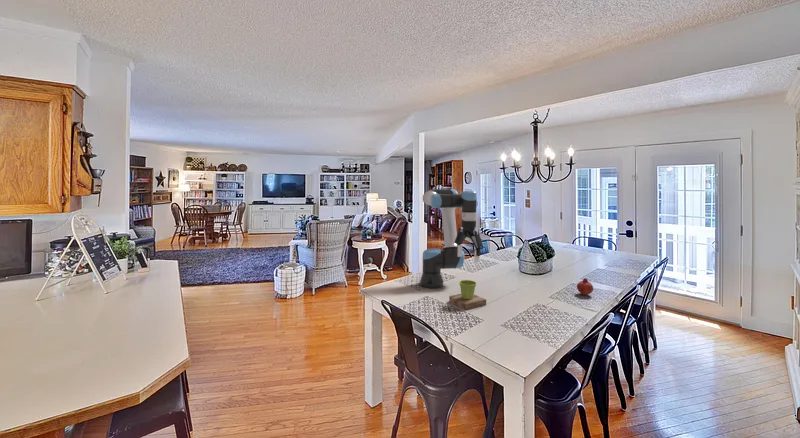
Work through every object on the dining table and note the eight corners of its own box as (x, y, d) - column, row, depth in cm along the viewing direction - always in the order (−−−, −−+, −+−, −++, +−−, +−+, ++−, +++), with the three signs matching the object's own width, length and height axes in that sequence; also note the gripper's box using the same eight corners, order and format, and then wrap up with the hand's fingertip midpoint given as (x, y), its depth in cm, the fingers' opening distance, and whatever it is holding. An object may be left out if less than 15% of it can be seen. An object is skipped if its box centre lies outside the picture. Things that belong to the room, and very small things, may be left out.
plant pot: (465, 293, 177) (465, 278, 176) (479, 297, 170) (480, 282, 170) (455, 297, 171) (455, 282, 170) (470, 302, 164) (470, 286, 163)
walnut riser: (449, 301, 174) (449, 296, 173) (468, 296, 180) (468, 291, 180) (466, 310, 161) (466, 304, 161) (486, 304, 168) (486, 299, 168)
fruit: (594, 297, 178) (596, 280, 177) (579, 296, 180) (580, 279, 178) (589, 292, 186) (590, 276, 185) (574, 292, 187) (575, 275, 186)
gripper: (448, 218, 175) (448, 255, 178) (480, 223, 153) (479, 265, 156) (459, 217, 179) (458, 253, 181) (491, 222, 157) (490, 263, 159)
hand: (468, 259), depth 169 cm, fingers open, 13 cm apart
